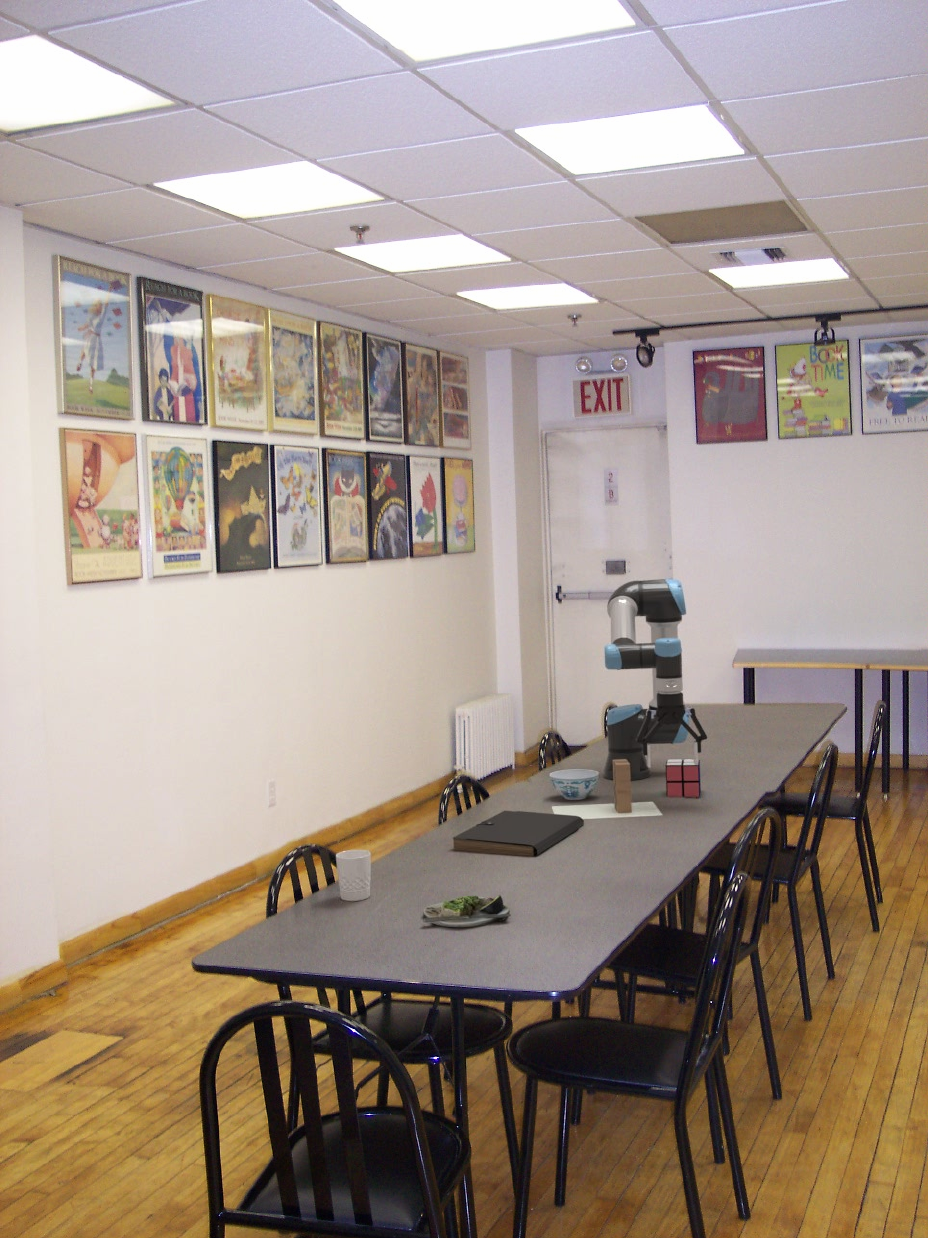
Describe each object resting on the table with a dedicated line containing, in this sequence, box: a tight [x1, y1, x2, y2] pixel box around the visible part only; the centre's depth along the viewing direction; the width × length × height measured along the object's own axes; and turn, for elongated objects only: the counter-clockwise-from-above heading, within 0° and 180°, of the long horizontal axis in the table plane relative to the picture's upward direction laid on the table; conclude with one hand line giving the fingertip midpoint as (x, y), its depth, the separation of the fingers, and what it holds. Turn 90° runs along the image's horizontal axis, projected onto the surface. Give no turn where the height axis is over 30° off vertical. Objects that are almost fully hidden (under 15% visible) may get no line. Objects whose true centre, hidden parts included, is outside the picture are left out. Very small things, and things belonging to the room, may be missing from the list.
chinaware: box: [549, 768, 600, 801], centre depth 374 cm, size 15×15×8 cm
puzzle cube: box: [665, 758, 702, 798], centre depth 373 cm, size 10×10×10 cm
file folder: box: [452, 810, 585, 858], centre depth 328 cm, size 33×4×24 cm
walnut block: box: [612, 759, 633, 813], centre depth 354 cm, size 8×4×14 cm, turn 0°
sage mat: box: [551, 801, 663, 820], centre depth 354 cm, size 18×30×1 cm, turn 90°
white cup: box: [335, 849, 372, 902], centre depth 280 cm, size 8×8×10 cm
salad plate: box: [422, 894, 512, 929], centre depth 261 cm, size 19×18×5 cm
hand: (672, 765), depth 353 cm, fingers open, 13 cm apart
